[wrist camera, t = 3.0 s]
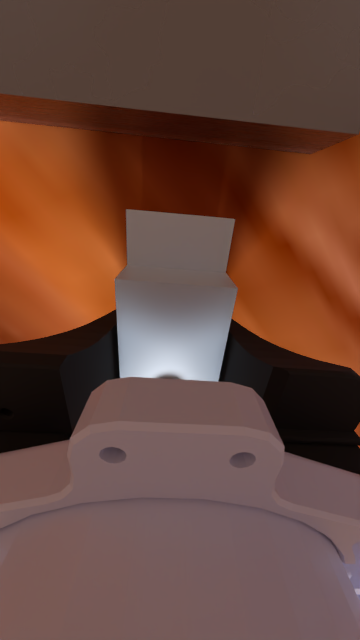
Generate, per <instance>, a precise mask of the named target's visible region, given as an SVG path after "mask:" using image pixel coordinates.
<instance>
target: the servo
mask: <svg viewBox="0 0 360 640" xmlns="http://www.w3.org/2000/svg"><path fill="white" fill-rule="evenodd" d="M234 223H235V219H232V218H221V217H210V216H199V215H188V214H177V213H166V212H155V211H144V210H133V209H126V233H127V266H126V267H125V268H124V269H123V270H122V271H121V272H120V274H119V275H118V276H117V277H116V278H115V295H116V313H117V332H118V351H119V369H120V378H126V377H144V378H162V379H180V380H199V381H217V382H218V380H219V375H220V371H221V366H222V361H223V356H224V352H225V347H226V342H227V337H228V332H229V328H230V323H231V318H232V313H233V309H234V304H235V299H236V294H237V289H238V288H237V287H236V285H235V284H234V283H233V281H232V280H231V279H230V278H229V276H228V275H227V274H226V268H227V262H228V257H229V251H230V245H231V240H232V234H233V229H234Z"/></svg>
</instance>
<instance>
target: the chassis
mask: <svg viewBox="0 0 360 640" xmlns="http://www.w3.org/2000/svg"><path fill="white" fill-rule="evenodd" d="M0 120H2V121H11V122H20V123H30V124H39V125H48V126H57V127H67V128H76V129H85V130H94V131H104V132H113V133H122V134H131V135H141V136H150V137H159V138H168V139H178V140H187V141H196V142H205V143H215V144H224V145H233V146H242V147H252V148H261V149H270V150H279V151H289V152H298V153H307V154H312V153H314V152H317V151H319V150H322V149H324V148H327V147H329V146H331V145H334V144H336V143H339V142H341V141H343V140H346V139H348V138H351V137H353V136H356V135H358V134H359V131H360V0H0Z"/></svg>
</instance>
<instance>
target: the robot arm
mask: <svg viewBox="0 0 360 640" xmlns="http://www.w3.org/2000/svg"><path fill="white" fill-rule="evenodd" d="M359 422H360V376H359V375H358V374H357V373H355V372H354V371H353V370H352V369H351V368H348V367H344V366H340V365H336V364H331V363H327V362H323V361H319V360H316V359H312V358H309V357H306V356H302V355H300V354H297V353H294V352H291V351H289V350H286V349H284V348H281V347H279V346H276V345H274V344H272V343H270V342H268V341H266V340H264V339H262V338H260V337H259V336H257V335H255V334H254V333H252V332H250V331H249V330H247V329H246V328H244V327H243V326H241V325H240V324H238V323H237V322H236V321H234V320H233V319H231V323H230V328H229V332H228V337H227V342H226V347H225V352H224V356H223V361H222V366H221V371H220V375H219V380H218V382H217V381H199V380H180V379H162V378H144V377H126V378H120V369H119V351H118V332H117V313H116V310H114V311H112V312H110V313H108V314H107V315H105V316H103V317H101V318H99V319H97V320H95V321H93V322H91V323H89V324H86V325H84V326H81V327H79V328H76V329H73V330H70V331H67V332H64V333H60V334H56V335H53V336H49V337H44V338H40V339H35V340H29V341H23V342H17V343H8V344H0V640H360V448H359V447H358V446H357V445H360V438H359V436H358V435H357V434H356V433H355V431H354V430H355V428H356V427H357V425H358V424H359Z"/></svg>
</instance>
